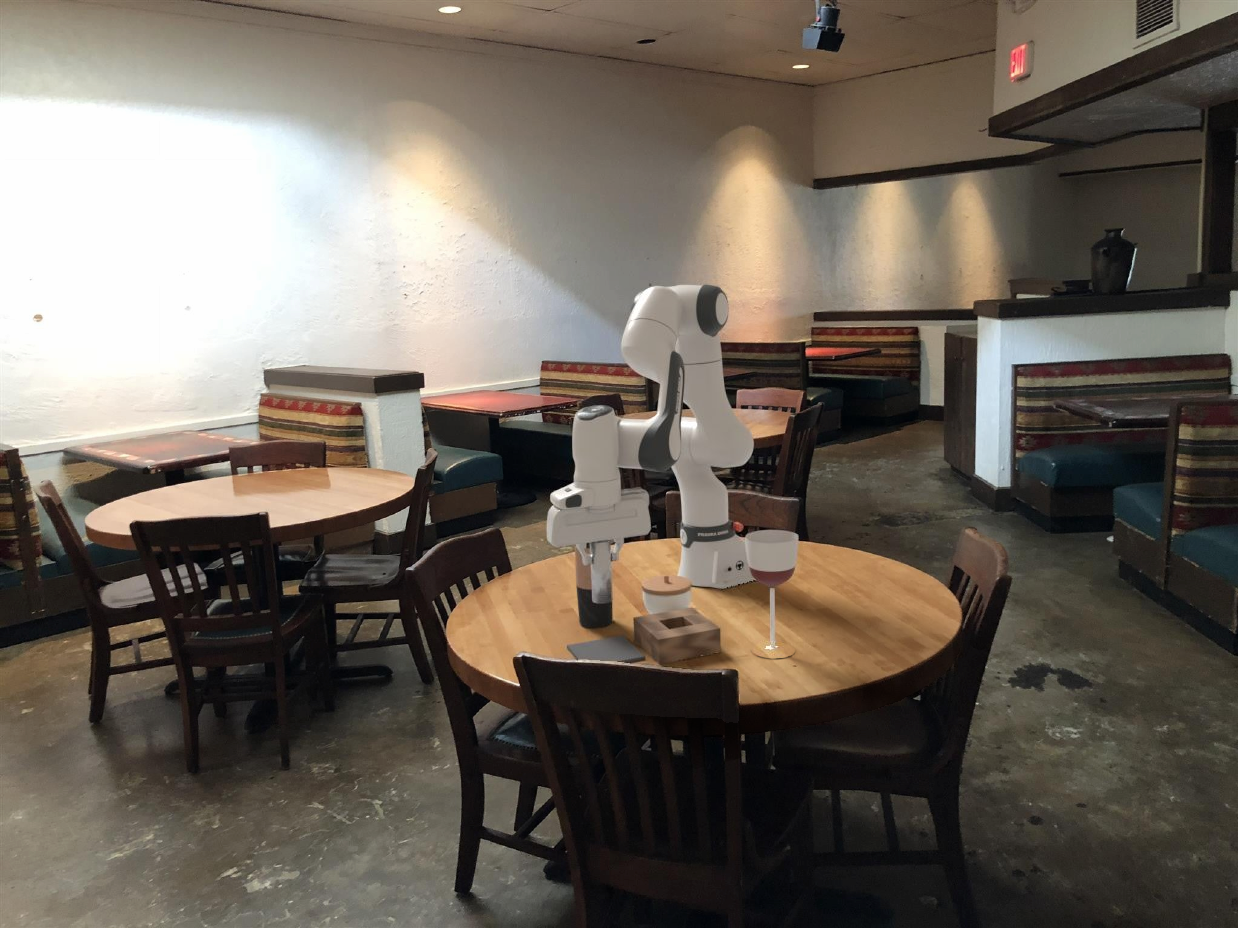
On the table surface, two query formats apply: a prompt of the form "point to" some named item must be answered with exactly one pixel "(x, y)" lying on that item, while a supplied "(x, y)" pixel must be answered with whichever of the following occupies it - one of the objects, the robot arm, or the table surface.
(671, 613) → the block
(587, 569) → the travel mug
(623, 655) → the mat
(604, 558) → the peg
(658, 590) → the lidded jar
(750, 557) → the wineglass
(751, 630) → the table surface
